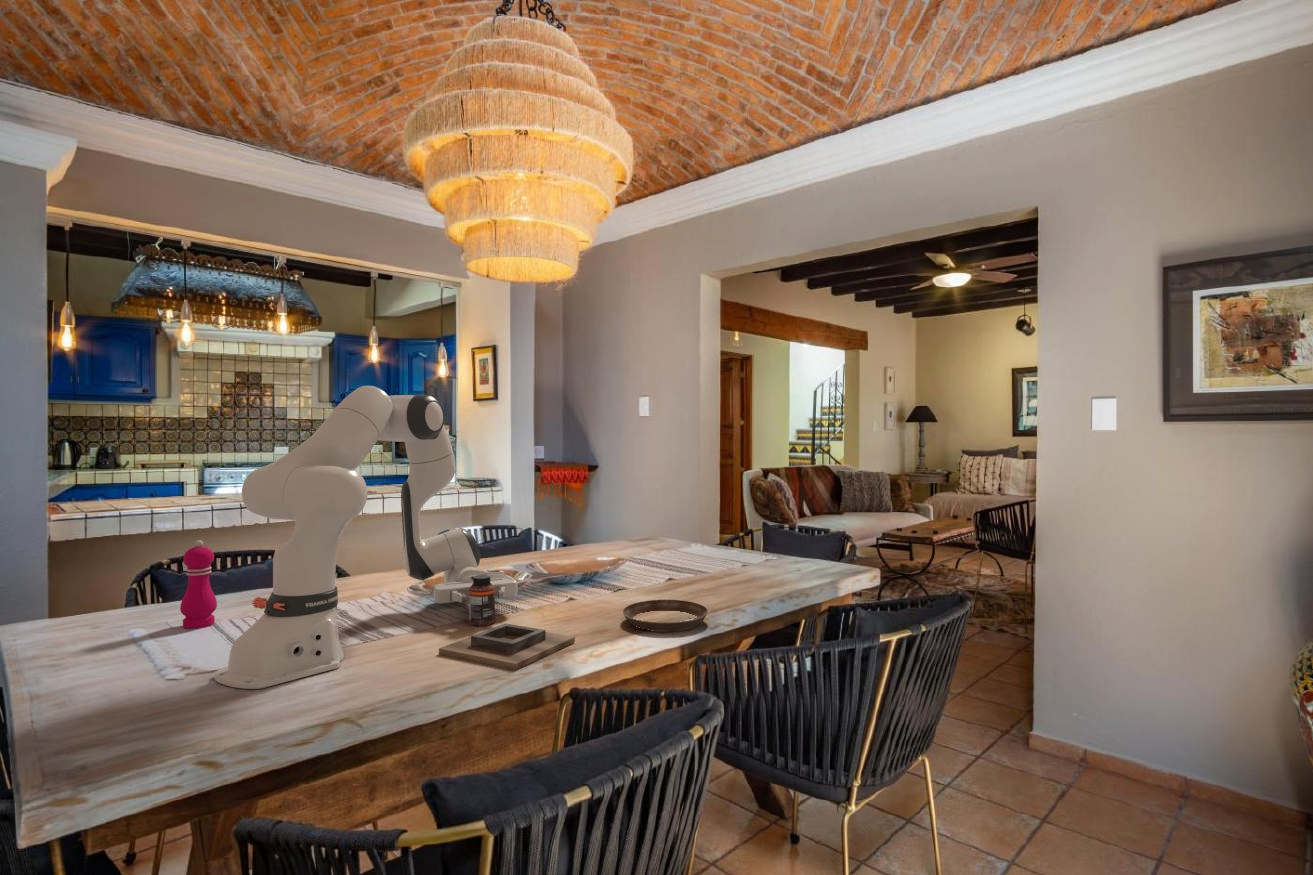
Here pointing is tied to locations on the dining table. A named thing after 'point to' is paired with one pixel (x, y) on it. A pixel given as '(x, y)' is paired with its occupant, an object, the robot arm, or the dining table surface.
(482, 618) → the supplement bottle
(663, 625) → the plant saucer
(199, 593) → the pepper mill
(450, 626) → the dining table surface
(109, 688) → the dining table surface
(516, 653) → the dock
